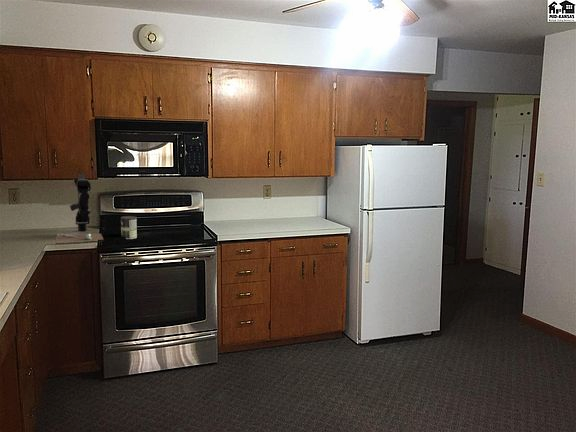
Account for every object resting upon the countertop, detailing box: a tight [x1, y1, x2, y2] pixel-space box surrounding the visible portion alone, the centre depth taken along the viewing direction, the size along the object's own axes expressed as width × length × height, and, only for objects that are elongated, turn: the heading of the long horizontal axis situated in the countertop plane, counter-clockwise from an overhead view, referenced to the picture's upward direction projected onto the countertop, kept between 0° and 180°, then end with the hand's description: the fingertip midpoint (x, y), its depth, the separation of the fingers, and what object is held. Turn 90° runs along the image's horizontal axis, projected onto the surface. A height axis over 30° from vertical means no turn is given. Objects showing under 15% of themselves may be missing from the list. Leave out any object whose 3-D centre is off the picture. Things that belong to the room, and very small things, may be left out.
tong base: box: [56, 232, 91, 237], centre depth 330 cm, size 5×20×2 cm, turn 115°
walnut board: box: [55, 233, 104, 245], centre depth 325 cm, size 20×28×2 cm
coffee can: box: [120, 215, 138, 240], centre depth 335 cm, size 10×10×14 cm
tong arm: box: [64, 233, 93, 241], centre depth 323 cm, size 22×3×4 cm, turn 70°
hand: (84, 222), depth 328 cm, fingers closed
